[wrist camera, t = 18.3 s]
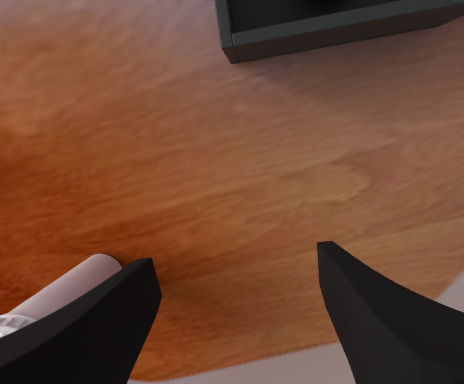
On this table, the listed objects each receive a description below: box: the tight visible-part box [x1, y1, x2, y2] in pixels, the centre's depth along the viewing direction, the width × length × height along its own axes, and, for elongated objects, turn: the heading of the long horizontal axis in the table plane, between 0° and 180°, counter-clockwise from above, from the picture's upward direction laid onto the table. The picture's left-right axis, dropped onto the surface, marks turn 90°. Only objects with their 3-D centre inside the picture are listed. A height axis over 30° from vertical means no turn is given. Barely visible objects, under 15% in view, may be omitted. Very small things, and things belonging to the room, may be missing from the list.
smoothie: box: [0, 254, 122, 338], centre depth 18 cm, size 6×6×14 cm
